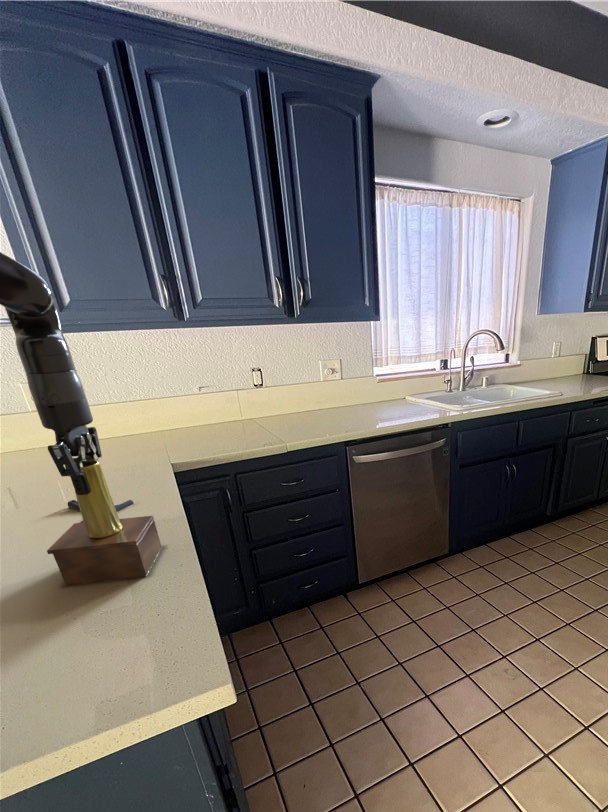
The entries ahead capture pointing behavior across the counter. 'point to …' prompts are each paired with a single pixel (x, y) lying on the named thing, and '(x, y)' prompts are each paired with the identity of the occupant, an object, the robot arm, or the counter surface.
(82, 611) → the counter surface
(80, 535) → the lid
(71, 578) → the chest
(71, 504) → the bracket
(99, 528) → the vase
